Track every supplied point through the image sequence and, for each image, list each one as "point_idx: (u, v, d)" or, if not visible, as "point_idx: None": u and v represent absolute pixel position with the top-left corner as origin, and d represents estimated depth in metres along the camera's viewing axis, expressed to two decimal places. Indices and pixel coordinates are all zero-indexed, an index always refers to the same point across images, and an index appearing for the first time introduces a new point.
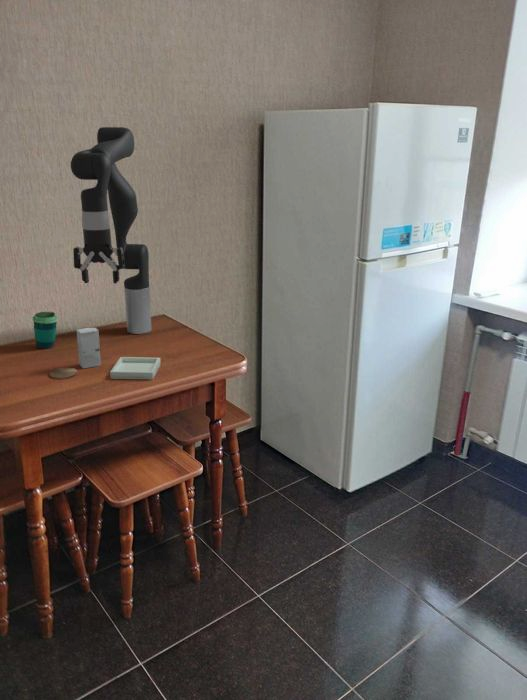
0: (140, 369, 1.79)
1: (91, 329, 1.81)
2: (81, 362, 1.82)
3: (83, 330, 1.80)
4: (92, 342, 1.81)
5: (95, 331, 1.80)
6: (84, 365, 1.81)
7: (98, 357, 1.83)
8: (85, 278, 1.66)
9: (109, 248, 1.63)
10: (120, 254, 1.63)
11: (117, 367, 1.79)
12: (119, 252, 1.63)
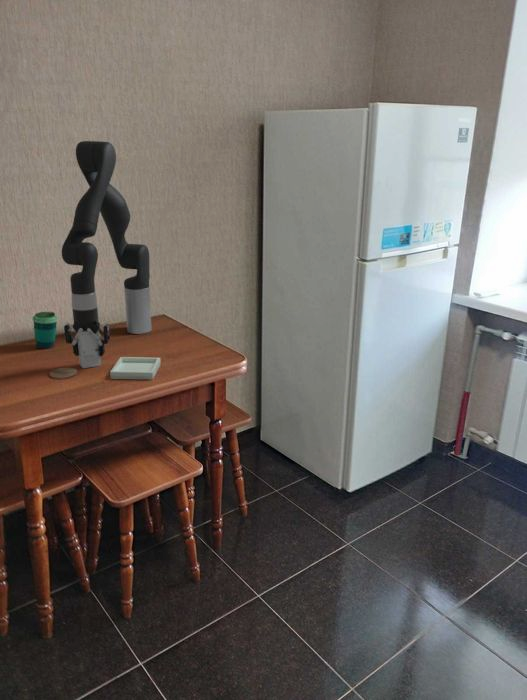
0: (140, 369, 1.79)
1: None
2: (81, 362, 1.82)
3: None
4: (92, 342, 1.81)
5: None
6: (84, 365, 1.81)
7: (98, 357, 1.83)
8: (76, 352, 1.82)
9: (96, 325, 1.79)
10: (106, 331, 1.79)
11: (117, 367, 1.79)
12: (105, 329, 1.79)
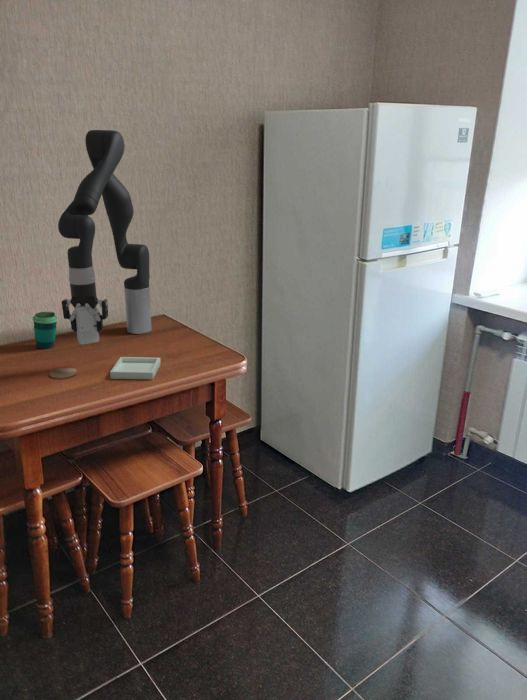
0: (140, 369, 1.79)
1: None
2: (79, 338, 1.79)
3: None
4: (91, 318, 1.78)
5: None
6: (82, 341, 1.79)
7: (96, 333, 1.81)
8: (74, 327, 1.79)
9: (94, 300, 1.76)
10: (104, 306, 1.77)
11: (117, 367, 1.79)
12: (103, 304, 1.76)
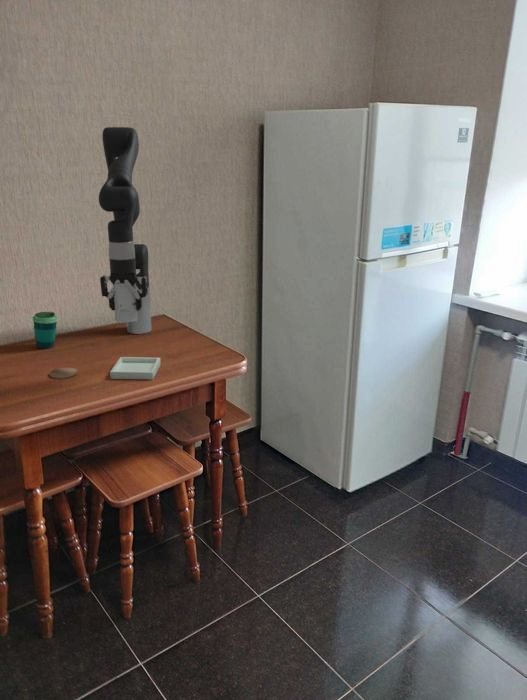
0: (140, 369, 1.79)
1: None
2: (117, 317, 1.72)
3: None
4: (129, 295, 1.71)
5: None
6: (120, 320, 1.71)
7: (135, 312, 1.73)
8: (112, 306, 1.72)
9: (134, 276, 1.69)
10: (144, 283, 1.70)
11: (117, 367, 1.79)
12: (143, 281, 1.69)
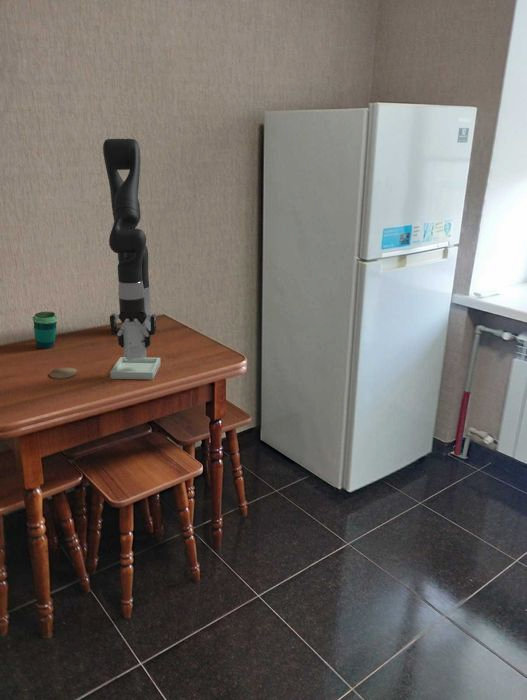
0: (140, 369, 1.79)
1: None
2: (127, 354, 1.76)
3: None
4: (139, 333, 1.75)
5: None
6: (130, 357, 1.75)
7: (144, 348, 1.77)
8: (121, 343, 1.76)
9: (143, 315, 1.73)
10: (153, 321, 1.73)
11: (117, 367, 1.79)
12: (152, 319, 1.73)
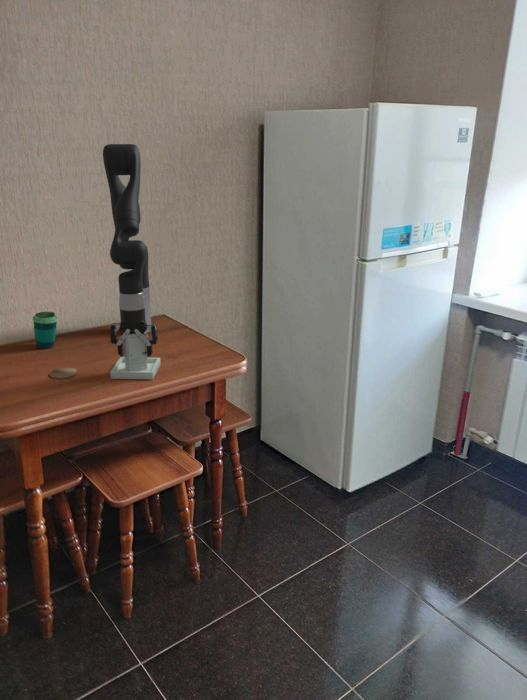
0: None
1: None
2: (128, 365, 1.77)
3: (130, 333, 1.75)
4: (140, 345, 1.76)
5: None
6: (131, 369, 1.77)
7: (145, 360, 1.78)
8: (121, 352, 1.77)
9: (144, 325, 1.74)
10: (154, 331, 1.74)
11: (117, 367, 1.79)
12: (153, 329, 1.74)
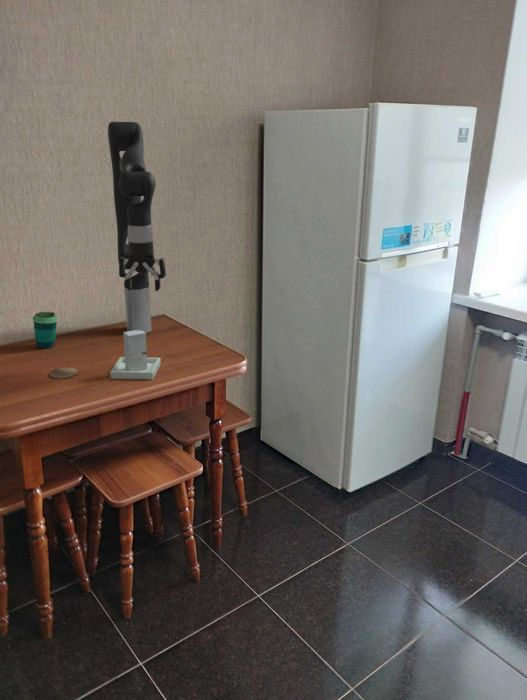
0: None
1: (138, 332, 1.76)
2: (128, 365, 1.77)
3: (130, 333, 1.75)
4: (140, 345, 1.76)
5: (142, 334, 1.76)
6: (131, 369, 1.77)
7: (145, 360, 1.78)
8: (129, 286, 1.79)
9: (152, 259, 1.76)
10: (162, 264, 1.76)
11: (117, 367, 1.79)
12: (161, 263, 1.76)
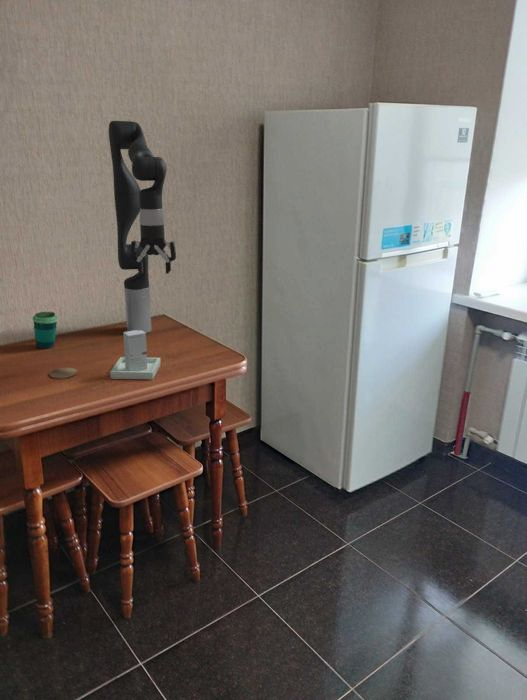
0: None
1: (138, 332, 1.76)
2: (128, 365, 1.77)
3: (130, 333, 1.75)
4: (140, 345, 1.76)
5: (142, 334, 1.76)
6: (131, 369, 1.77)
7: (145, 360, 1.78)
8: (140, 269, 1.85)
9: (163, 242, 1.82)
10: (173, 247, 1.82)
11: (117, 367, 1.79)
12: (172, 245, 1.82)
